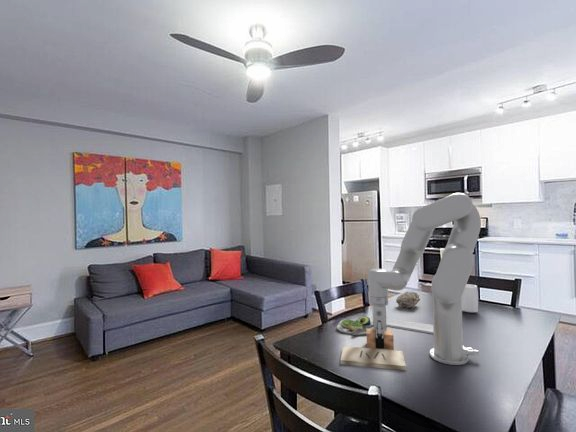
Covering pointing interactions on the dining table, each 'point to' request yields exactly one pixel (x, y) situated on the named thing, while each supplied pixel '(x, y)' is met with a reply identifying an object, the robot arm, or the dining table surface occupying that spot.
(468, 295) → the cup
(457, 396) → the dining table surface
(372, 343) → the block
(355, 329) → the salad plate
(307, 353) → the dining table surface
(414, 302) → the pumice stone
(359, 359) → the plywood board
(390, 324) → the baseboard
